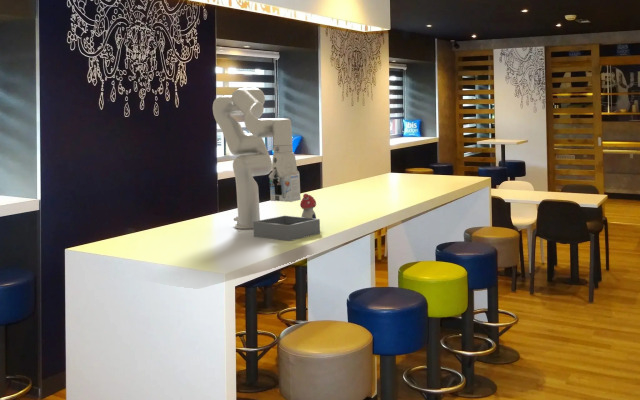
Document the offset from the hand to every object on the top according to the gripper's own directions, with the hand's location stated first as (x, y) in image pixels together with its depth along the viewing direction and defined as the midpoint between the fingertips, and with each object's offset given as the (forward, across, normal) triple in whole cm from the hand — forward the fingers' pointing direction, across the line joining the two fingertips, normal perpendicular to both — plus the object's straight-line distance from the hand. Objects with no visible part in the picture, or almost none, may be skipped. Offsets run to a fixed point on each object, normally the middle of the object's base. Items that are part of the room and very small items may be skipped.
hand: (285, 193), depth 282 cm
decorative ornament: (+17, +18, +4) cm, 25 cm away
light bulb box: (+3, 0, 0) cm, 3 cm away
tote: (+17, 0, 0) cm, 17 cm away
